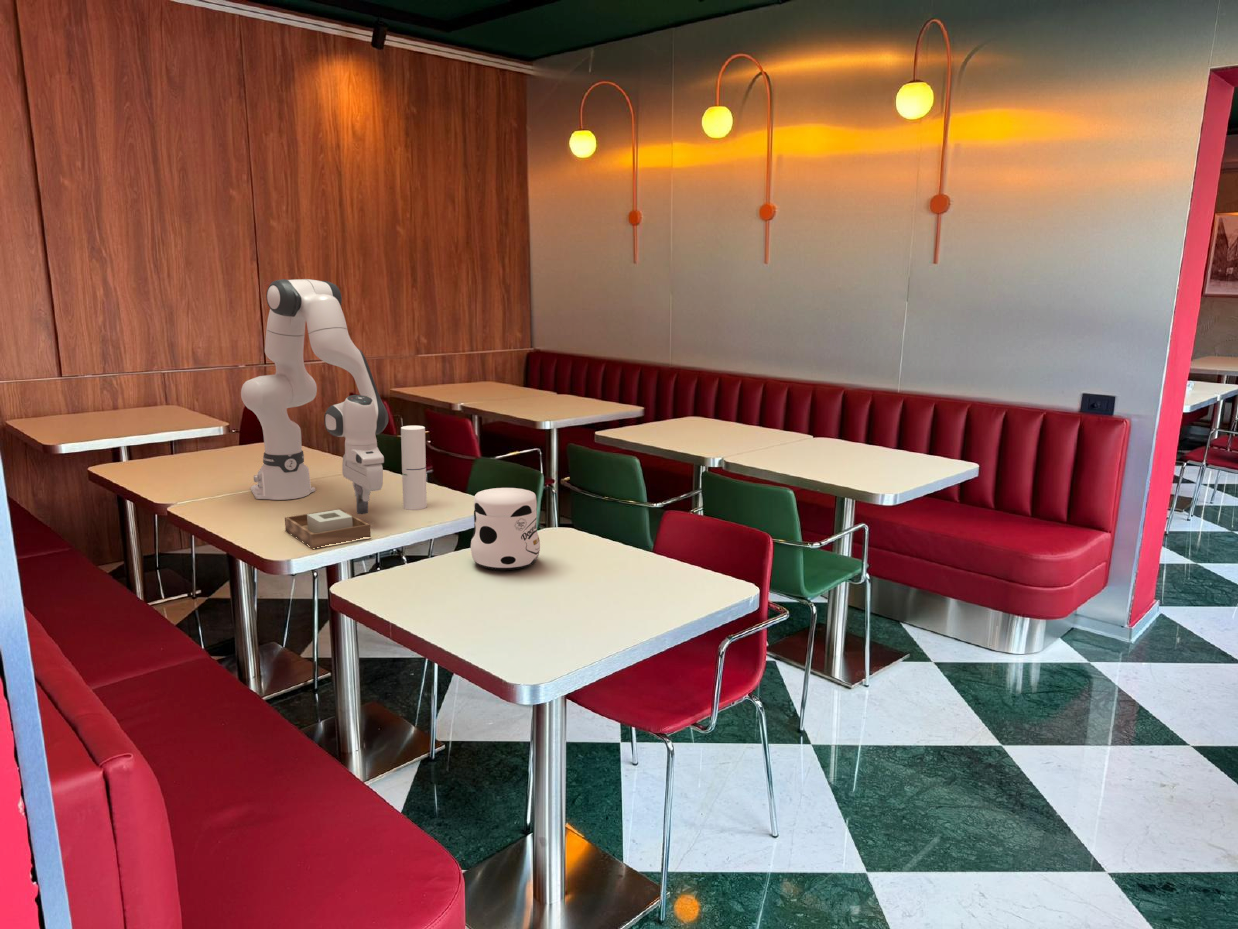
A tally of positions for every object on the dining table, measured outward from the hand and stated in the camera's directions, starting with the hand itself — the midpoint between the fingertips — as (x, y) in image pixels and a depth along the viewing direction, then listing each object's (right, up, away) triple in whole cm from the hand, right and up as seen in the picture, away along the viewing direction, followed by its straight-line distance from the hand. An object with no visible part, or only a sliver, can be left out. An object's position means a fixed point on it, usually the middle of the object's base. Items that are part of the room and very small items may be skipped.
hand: (362, 498), depth 252 cm
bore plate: (-4, -10, -14) cm, 18 cm away
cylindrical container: (+11, -3, +18) cm, 21 cm away
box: (-6, -9, -13) cm, 17 cm away
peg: (0, -4, +1) cm, 4 cm away
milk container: (+46, -15, -32) cm, 58 cm away
